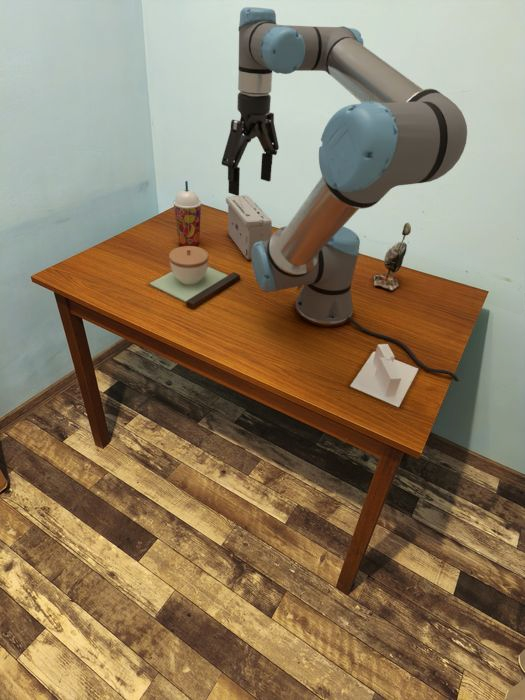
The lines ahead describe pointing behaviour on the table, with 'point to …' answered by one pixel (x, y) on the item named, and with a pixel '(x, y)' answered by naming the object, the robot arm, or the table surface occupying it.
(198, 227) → the smoothie
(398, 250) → the plant with pod
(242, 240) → the radio
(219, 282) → the divider
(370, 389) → the napkin holder
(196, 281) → the trinket box
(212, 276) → the mat
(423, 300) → the table surface
